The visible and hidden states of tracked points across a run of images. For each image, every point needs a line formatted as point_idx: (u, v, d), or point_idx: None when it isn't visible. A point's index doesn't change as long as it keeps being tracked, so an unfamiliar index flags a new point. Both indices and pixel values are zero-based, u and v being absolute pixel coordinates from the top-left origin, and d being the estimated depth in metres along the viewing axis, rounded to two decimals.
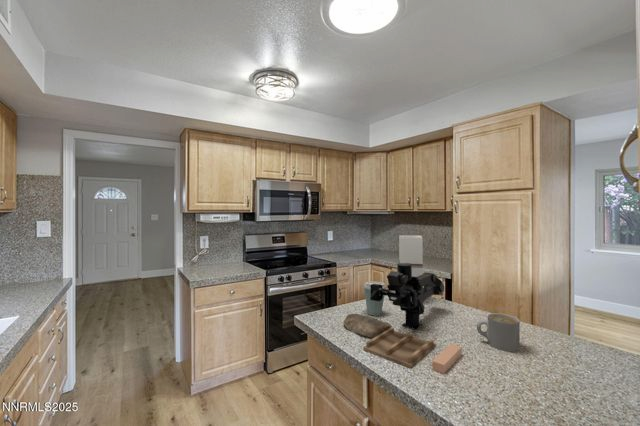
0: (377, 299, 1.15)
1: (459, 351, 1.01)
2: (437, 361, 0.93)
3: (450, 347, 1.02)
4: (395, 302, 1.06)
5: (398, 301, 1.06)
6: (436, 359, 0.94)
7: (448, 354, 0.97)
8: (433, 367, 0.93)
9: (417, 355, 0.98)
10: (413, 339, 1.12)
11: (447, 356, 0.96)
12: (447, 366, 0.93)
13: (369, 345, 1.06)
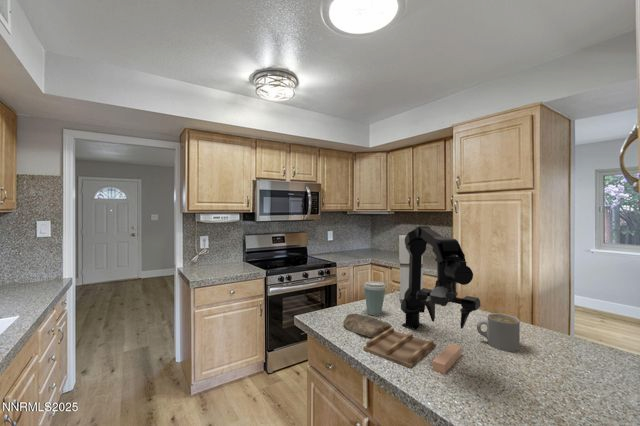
0: (434, 304, 1.02)
1: (459, 351, 1.01)
2: (437, 361, 0.93)
3: (450, 347, 1.02)
4: (463, 325, 0.94)
5: (464, 321, 0.94)
6: (436, 359, 0.94)
7: (448, 354, 0.97)
8: (433, 367, 0.93)
9: (417, 355, 0.98)
10: (413, 339, 1.12)
11: (447, 356, 0.96)
12: (447, 366, 0.93)
13: (369, 345, 1.06)
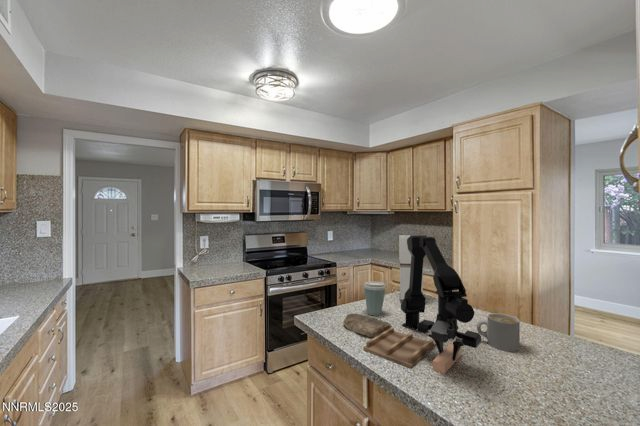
0: None
1: (459, 351, 1.01)
2: (437, 361, 0.93)
3: (450, 347, 1.02)
4: (455, 358, 0.96)
5: (456, 354, 0.96)
6: (436, 359, 0.94)
7: (448, 354, 0.97)
8: (433, 367, 0.93)
9: (417, 355, 0.98)
10: (413, 339, 1.12)
11: (447, 355, 0.96)
12: (447, 366, 0.93)
13: (369, 345, 1.06)
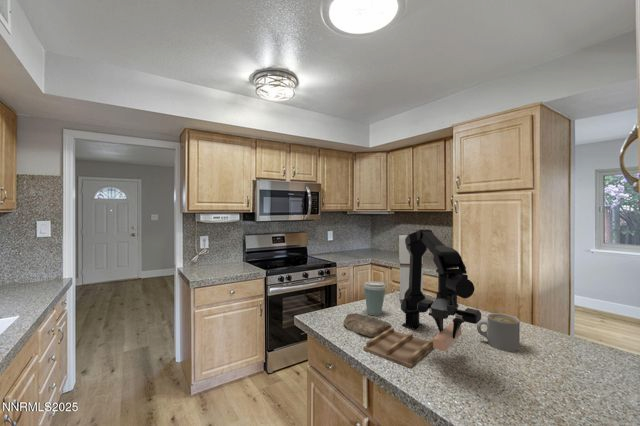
0: None
1: (459, 330, 1.01)
2: (438, 338, 0.93)
3: (450, 326, 1.02)
4: (455, 335, 0.96)
5: (456, 331, 0.95)
6: (436, 337, 0.94)
7: (448, 332, 0.97)
8: (434, 344, 0.93)
9: (417, 355, 0.98)
10: (413, 339, 1.12)
11: (447, 334, 0.96)
12: (448, 343, 0.92)
13: (369, 345, 1.06)
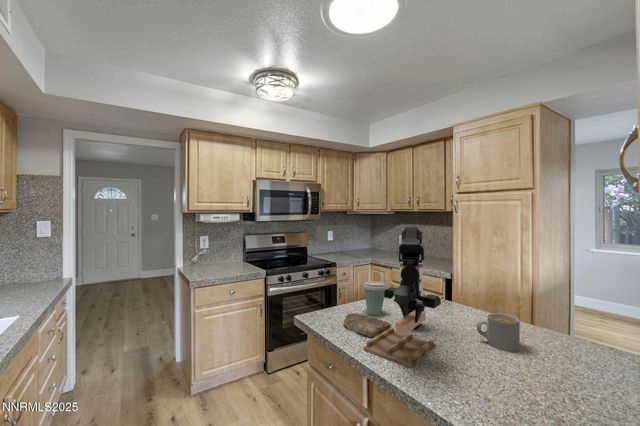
0: (407, 303, 1.07)
1: (422, 315, 1.07)
2: (400, 322, 0.99)
3: (414, 312, 1.08)
4: (417, 320, 1.02)
5: (418, 316, 1.02)
6: (399, 321, 1.00)
7: (411, 317, 1.03)
8: (396, 328, 0.99)
9: (417, 355, 0.98)
10: (413, 339, 1.12)
11: (410, 318, 1.02)
12: (409, 327, 0.99)
13: (369, 345, 1.06)
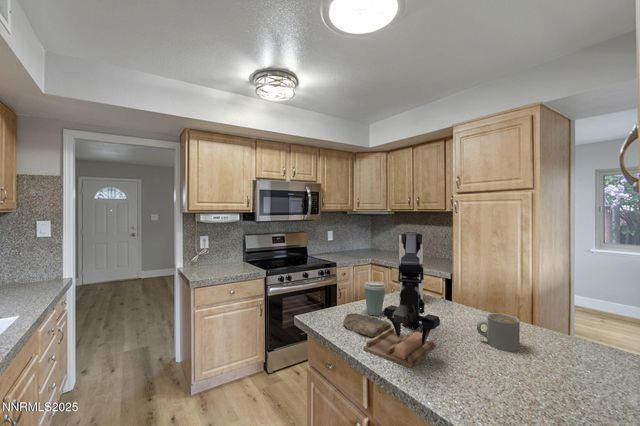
0: None
1: None
2: (399, 347, 1.00)
3: (414, 335, 1.09)
4: (424, 342, 1.01)
5: (425, 338, 1.00)
6: (398, 345, 1.01)
7: (411, 341, 1.04)
8: (395, 352, 1.00)
9: (417, 355, 0.98)
10: None
11: (409, 342, 1.03)
12: (408, 351, 1.00)
13: (369, 345, 1.06)
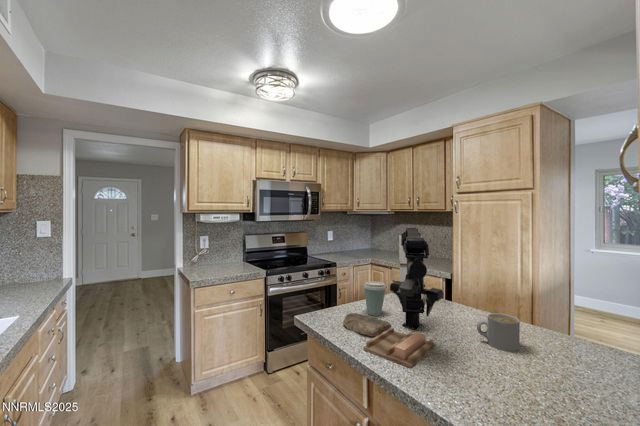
0: (405, 295, 1.15)
1: (422, 338, 1.07)
2: (399, 347, 1.00)
3: (414, 335, 1.09)
4: (428, 313, 1.07)
5: (429, 310, 1.07)
6: (398, 345, 1.01)
7: (411, 341, 1.04)
8: (395, 352, 1.00)
9: (417, 355, 0.98)
10: None
11: (409, 342, 1.03)
12: (408, 351, 1.00)
13: (369, 345, 1.06)
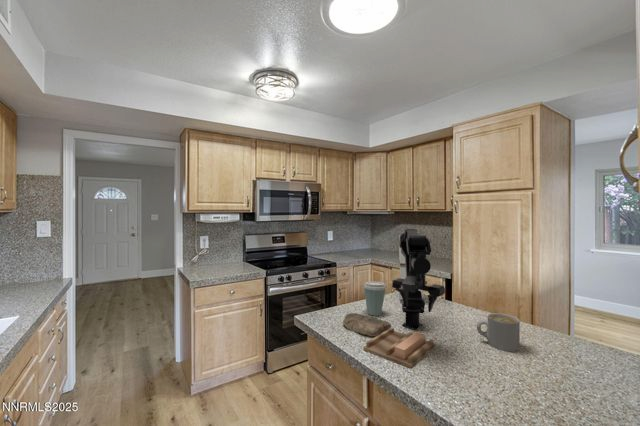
0: (407, 292, 1.17)
1: (422, 338, 1.07)
2: (399, 347, 1.00)
3: (414, 335, 1.09)
4: (430, 309, 1.09)
5: (431, 306, 1.09)
6: (398, 345, 1.01)
7: (411, 341, 1.04)
8: (395, 352, 1.00)
9: (417, 355, 0.98)
10: None
11: (409, 342, 1.03)
12: (408, 351, 1.00)
13: (369, 345, 1.06)
